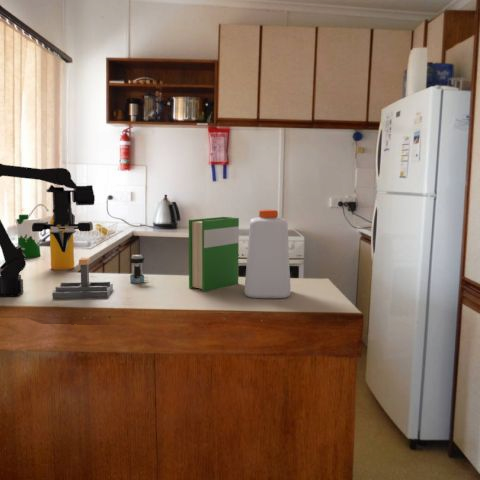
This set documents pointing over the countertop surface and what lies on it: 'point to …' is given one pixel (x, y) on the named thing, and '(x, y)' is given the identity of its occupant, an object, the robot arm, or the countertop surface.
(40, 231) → the robot arm
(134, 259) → the push button
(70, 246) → the beer bottle
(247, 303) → the countertop surface
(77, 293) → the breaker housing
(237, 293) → the countertop surface
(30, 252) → the milk carton
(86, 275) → the lever
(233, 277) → the hardback book
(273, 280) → the plastic bottle
